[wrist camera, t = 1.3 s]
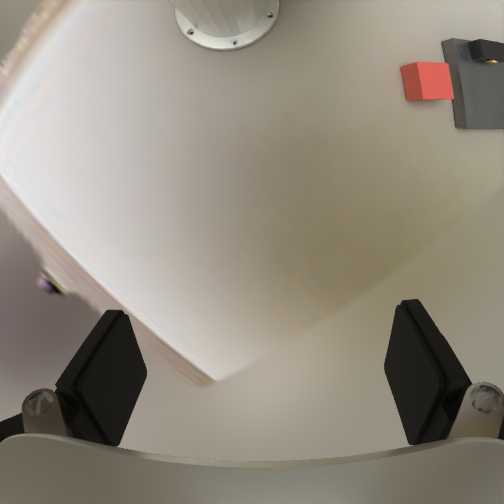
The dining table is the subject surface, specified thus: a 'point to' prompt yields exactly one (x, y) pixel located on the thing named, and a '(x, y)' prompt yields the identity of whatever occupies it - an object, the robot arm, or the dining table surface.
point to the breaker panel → (476, 82)
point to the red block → (427, 81)
